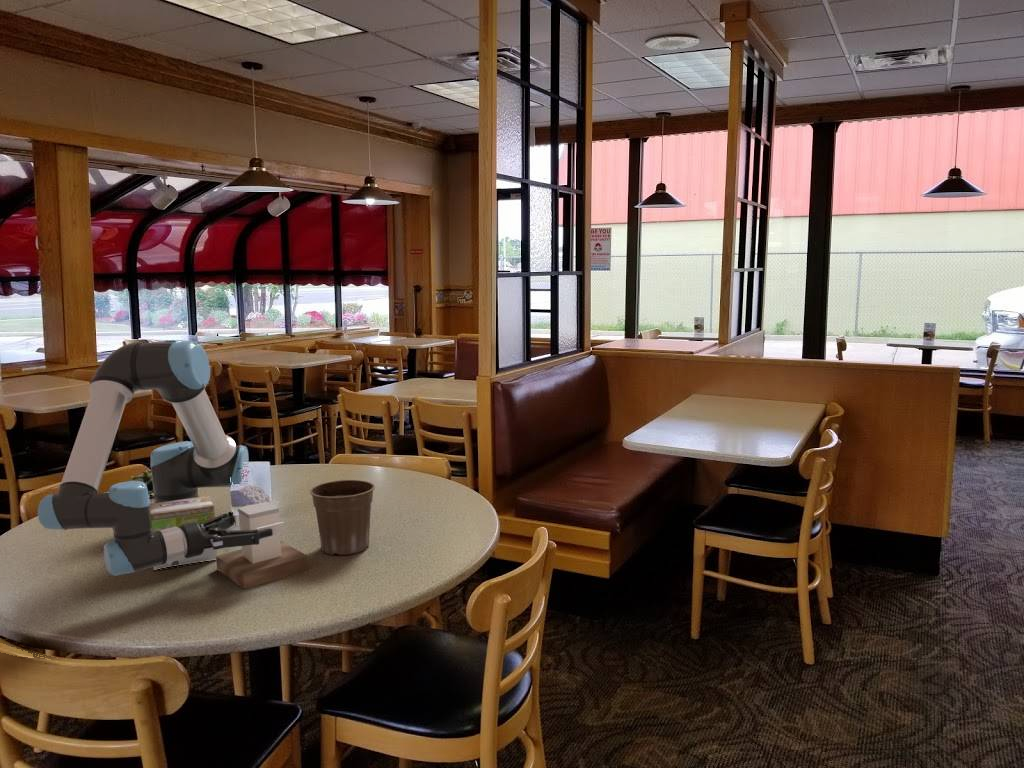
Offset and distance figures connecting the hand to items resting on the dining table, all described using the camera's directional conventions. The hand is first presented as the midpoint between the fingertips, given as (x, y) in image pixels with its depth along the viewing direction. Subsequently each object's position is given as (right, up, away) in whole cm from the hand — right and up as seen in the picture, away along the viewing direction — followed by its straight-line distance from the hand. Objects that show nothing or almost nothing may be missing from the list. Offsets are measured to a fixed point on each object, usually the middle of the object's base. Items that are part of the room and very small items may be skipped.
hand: (272, 520), depth 186 cm
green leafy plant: (-59, -4, +60) cm, 84 cm away
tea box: (-24, -11, +7) cm, 28 cm away
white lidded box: (-2, -8, -1) cm, 9 cm away
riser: (-2, -12, 0) cm, 13 cm away
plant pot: (+15, -9, +13) cm, 22 cm away
